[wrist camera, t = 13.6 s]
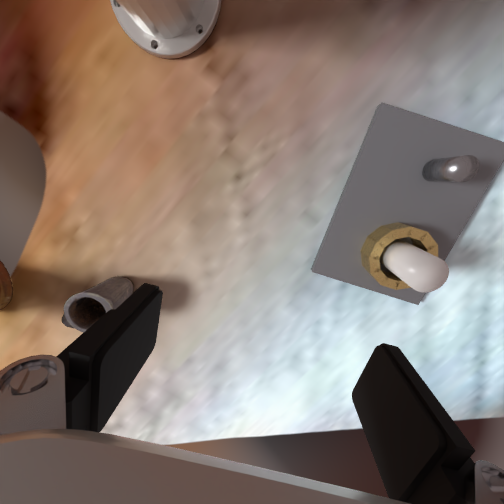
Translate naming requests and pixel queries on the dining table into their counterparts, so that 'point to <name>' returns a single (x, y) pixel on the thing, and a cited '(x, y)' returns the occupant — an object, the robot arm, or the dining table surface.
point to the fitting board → (403, 192)
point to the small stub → (451, 169)
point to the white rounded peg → (414, 266)
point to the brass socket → (386, 236)
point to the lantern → (5, 286)
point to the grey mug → (95, 302)
